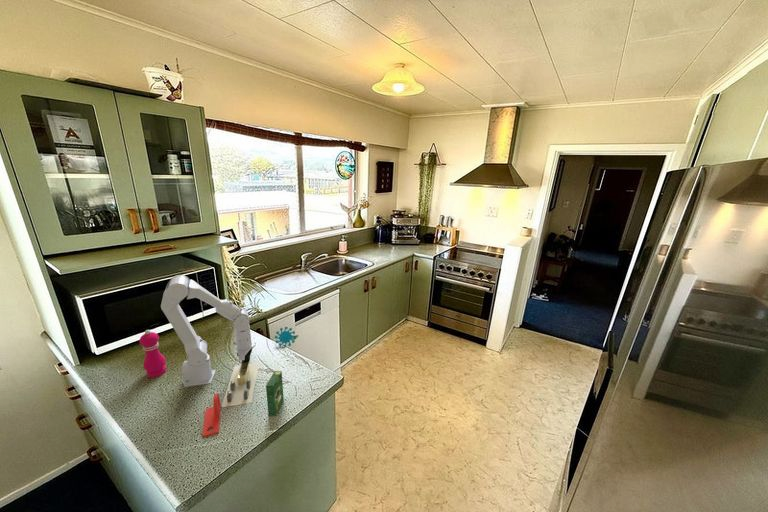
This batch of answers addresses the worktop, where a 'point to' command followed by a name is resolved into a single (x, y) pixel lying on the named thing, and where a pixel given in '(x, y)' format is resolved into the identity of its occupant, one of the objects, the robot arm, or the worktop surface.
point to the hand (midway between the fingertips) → (246, 364)
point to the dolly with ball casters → (232, 387)
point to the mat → (241, 386)
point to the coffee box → (274, 393)
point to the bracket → (212, 418)
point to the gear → (285, 337)
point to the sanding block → (243, 373)
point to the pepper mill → (152, 354)
